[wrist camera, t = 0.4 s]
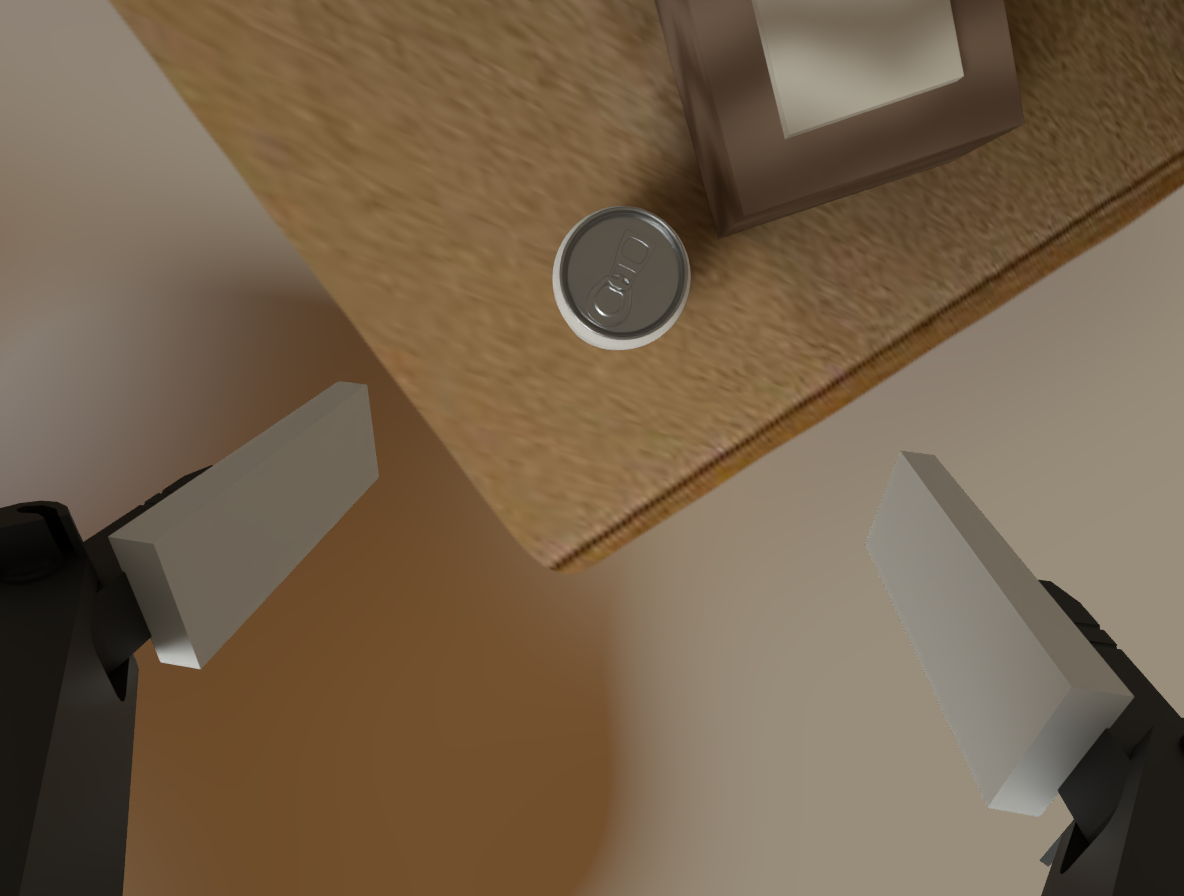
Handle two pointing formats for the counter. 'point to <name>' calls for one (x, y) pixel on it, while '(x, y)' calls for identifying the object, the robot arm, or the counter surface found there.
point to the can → (621, 278)
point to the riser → (834, 94)
